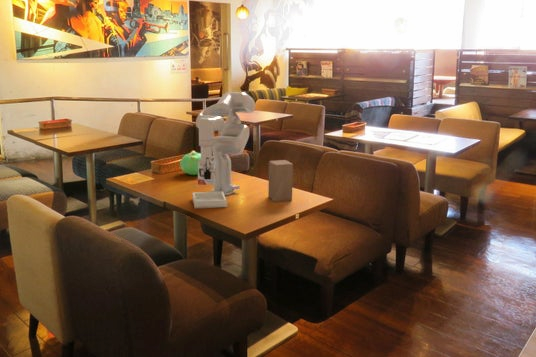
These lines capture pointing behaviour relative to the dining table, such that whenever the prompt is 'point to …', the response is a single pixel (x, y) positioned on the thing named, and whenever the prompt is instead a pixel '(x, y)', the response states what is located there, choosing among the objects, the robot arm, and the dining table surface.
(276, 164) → the wooden block
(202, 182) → the ink box
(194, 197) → the tray
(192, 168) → the green teapot
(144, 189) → the dining table surface
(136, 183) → the dining table surface
